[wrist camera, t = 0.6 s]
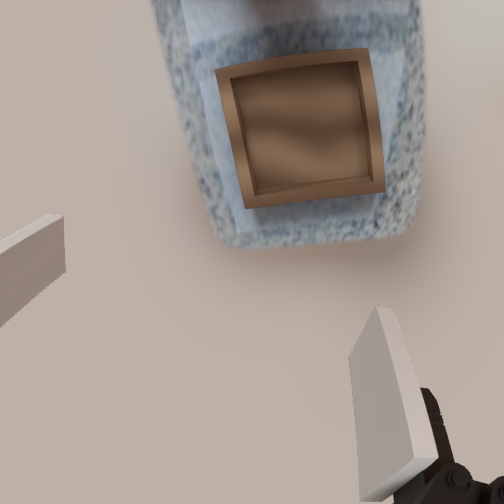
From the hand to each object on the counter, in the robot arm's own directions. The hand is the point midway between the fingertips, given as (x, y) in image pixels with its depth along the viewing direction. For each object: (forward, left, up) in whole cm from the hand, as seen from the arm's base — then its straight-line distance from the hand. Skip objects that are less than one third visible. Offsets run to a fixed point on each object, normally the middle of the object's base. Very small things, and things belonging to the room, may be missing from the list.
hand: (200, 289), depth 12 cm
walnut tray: (-6, +1, -24) cm, 25 cm away
